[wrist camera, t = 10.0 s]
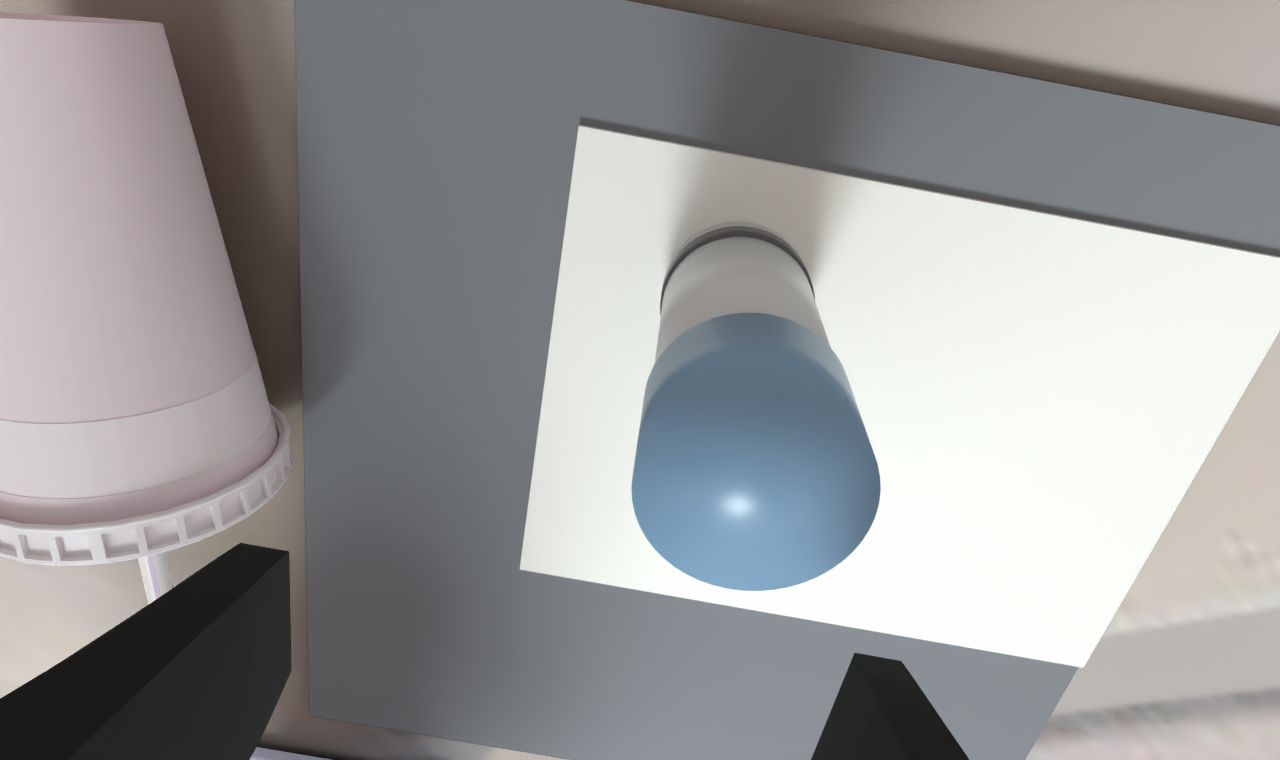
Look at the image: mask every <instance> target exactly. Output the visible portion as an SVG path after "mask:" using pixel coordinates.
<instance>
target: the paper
mask: <svg viewBox="0 0 1280 760" xmlns="http://www.w3.org/2000/svg"><path fill="white" fill-rule="evenodd" d="M729 222H746V223H753V224H757V225H761V226H763V227H766V228H768V229H770V230H772V231H774V232H776V233H778V234H779V235H780V236H782V237H783V238H784V239H785V240H786V241H787V242H788V243H789V244H790V245H791V246H792V247H793V248H794V249H795V251H796V252H797V254H798V255H799V256H800V258H801V259H802V261H803V262H804V264H805V266H806V268H807V271H808V274H809V276H810V279H811V282H812V285H813V289H814V294H815V302H816V305H817V308H818V311H819V314H820V317H821V320H822V323H823V326H824V329H825V332H826V335H827V338H828V341H829V344H830V347H831V349H832V350H833V351H834V353H835V354H836V355H837V357H838V358H839V360H840V362H841V364H842V365H843V367H844V370H845V372H846V375H847V378H848V380H849V383H850V386H851V389H852V392H853V395H854V398H855V400H856V403H857V406H858V409H859V412H860V415H861V418H862V420H863V423H864V426H865V429H866V432H867V435H868V438H869V440H870V443H871V446H872V449H873V452H874V455H875V458H876V460H877V463H878V468H879V473H880V485H881V492H880V500H879V506H878V509H877V513H876V516H875V519H874V521H873V523H872V525H871V527H870V530H869V531H868V533H867V534H866V536H865V537H864V539H863V540H862V542H861V543H860V544H859V545H858V547H857V548H856V549H855V550H854V551H853V552H852V553H851V554H850V555H849V556H848V557H847V558H846V559H845V560H843V561H842V562H841V563H840V564H838V565H837V566H835V567H834V568H832V569H831V570H829V571H828V572H826V573H824V574H822V575H820V576H818V577H816V578H814V579H812V580H809V581H807V582H804V583H801V584H798V585H794V586H791V587H787V588H781V589H775V590H765V591H742V590H734V589H727V588H723V587H718V586H714V585H711V584H708V583H705V582H702V581H699V580H697V579H695V578H693V577H691V576H689V575H687V574H685V573H683V572H682V571H680V570H679V569H677V568H675V567H674V566H673V565H671V564H670V563H669V562H668V561H666V560H665V559H664V558H663V557H662V556H661V555H660V554H659V553H658V552H657V551H656V550H655V549H654V548H653V547H652V545H651V544H650V542H649V541H648V540H647V538H646V537H645V535H644V533H643V532H642V530H641V528H640V526H639V524H638V521H637V518H636V515H635V513H634V508H633V502H632V489H631V486H632V477H633V469H634V462H635V456H636V449H637V442H638V435H639V428H640V421H641V414H642V407H643V400H644V394H645V388H646V384H647V381H648V377H649V375H650V373H651V370H652V368H653V366H654V364H655V356H656V349H657V341H658V334H659V326H660V318H661V316H660V300H661V293H662V286H663V282H664V278H665V275H666V273H667V270H668V268H669V266H670V264H671V262H672V260H673V258H674V256H675V255H676V253H677V252H678V251H679V249H680V248H681V247H682V246H683V245H684V244H685V243H686V242H687V241H688V240H689V239H690V238H692V237H693V236H694V235H696V234H697V233H699V232H701V231H703V230H704V229H707V228H709V227H712V226H715V225H718V224H722V223H729ZM1279 331H1280V257H1279V256H1274V255H1269V254H1263V253H1258V252H1253V251H1247V250H1242V249H1237V248H1231V247H1226V246H1221V245H1215V244H1210V243H1205V242H1200V241H1194V240H1189V239H1184V238H1178V237H1173V236H1168V235H1162V234H1157V233H1152V232H1147V231H1141V230H1136V229H1131V228H1125V227H1120V226H1115V225H1109V224H1104V223H1099V222H1093V221H1088V220H1083V219H1078V218H1072V217H1067V216H1062V215H1056V214H1051V213H1046V212H1040V211H1035V210H1030V209H1024V208H1019V207H1014V206H1009V205H1003V204H998V203H993V202H987V201H982V200H977V199H971V198H966V197H961V196H955V195H950V194H945V193H940V192H934V191H929V190H924V189H918V188H913V187H908V186H902V185H897V184H892V183H887V182H881V181H876V180H871V179H865V178H860V177H855V176H849V175H844V174H839V173H833V172H828V171H823V170H818V169H812V168H807V167H802V166H796V165H791V164H786V163H780V162H775V161H770V160H764V159H759V158H754V157H749V156H743V155H738V154H733V153H727V152H722V151H717V150H711V149H706V148H701V147H696V146H690V145H685V144H680V143H674V142H669V141H664V140H658V139H653V138H648V137H642V136H637V135H632V134H627V133H621V132H616V131H611V130H605V129H600V128H595V127H589V126H584V125H579V127H578V134H577V142H576V149H575V157H574V164H573V172H572V179H571V187H570V194H569V202H568V209H567V217H566V224H565V232H564V239H563V247H562V254H561V262H560V269H559V277H558V284H557V292H556V299H555V307H554V314H553V322H552V329H551V337H550V344H549V352H548V359H547V367H546V375H545V382H544V390H543V397H542V405H541V412H540V420H539V427H538V435H537V442H536V450H535V457H534V465H533V472H532V480H531V487H530V495H529V502H528V510H527V517H526V525H525V532H524V540H523V547H522V555H521V562H520V570H526V571H531V572H537V573H543V574H549V575H554V576H560V577H566V578H571V579H577V580H583V581H589V582H594V583H600V584H606V585H612V586H617V587H623V588H629V589H635V590H640V591H646V592H652V593H657V594H663V595H669V596H675V597H680V598H686V599H692V600H698V601H703V602H709V603H715V604H721V605H726V606H732V607H738V608H744V609H749V610H755V611H761V612H766V613H772V614H778V615H784V616H789V617H795V618H801V619H807V620H812V621H818V622H824V623H830V624H835V625H841V626H847V627H852V628H858V629H864V630H870V631H875V632H881V633H887V634H893V635H898V636H904V637H910V638H916V639H921V640H927V641H933V642H939V643H944V644H950V645H956V646H961V647H967V648H973V649H979V650H984V651H990V652H996V653H1002V654H1007V655H1013V656H1019V657H1025V658H1030V659H1036V660H1042V661H1047V662H1053V663H1059V664H1065V665H1070V666H1076V667H1082V668H1083V667H1084V666H1085V664H1086V662H1087V661H1088V659H1089V657H1090V655H1091V654H1092V652H1093V650H1094V649H1095V647H1096V645H1097V643H1098V642H1099V640H1100V638H1101V636H1102V635H1103V633H1104V631H1105V630H1106V628H1107V626H1108V624H1109V623H1110V621H1111V619H1112V618H1113V616H1114V614H1115V612H1116V611H1117V609H1118V607H1119V606H1120V604H1121V602H1122V600H1123V599H1124V597H1125V595H1126V594H1127V592H1128V590H1129V588H1130V587H1131V585H1132V583H1133V582H1134V580H1135V578H1136V576H1137V575H1138V573H1139V571H1140V570H1141V568H1142V566H1143V564H1144V563H1145V561H1146V559H1147V558H1148V556H1149V554H1150V552H1151V551H1152V549H1153V547H1154V546H1155V544H1156V542H1157V540H1158V539H1159V537H1160V535H1161V534H1162V532H1163V530H1164V528H1165V527H1166V525H1167V523H1168V522H1169V520H1170V518H1171V516H1172V515H1173V513H1174V511H1175V509H1176V508H1177V506H1178V504H1179V503H1180V501H1181V499H1182V497H1183V496H1184V494H1185V492H1186V491H1187V489H1188V487H1189V485H1190V484H1191V482H1192V480H1193V479H1194V477H1195V475H1196V473H1197V472H1198V470H1199V468H1200V467H1201V465H1202V463H1203V461H1204V460H1205V458H1206V456H1207V455H1208V453H1209V451H1210V449H1211V448H1212V446H1213V444H1214V443H1215V441H1216V439H1217V437H1218V436H1219V434H1220V432H1221V431H1222V429H1223V427H1224V425H1225V424H1226V422H1227V420H1228V419H1229V417H1230V415H1231V413H1232V412H1233V410H1234V408H1235V407H1236V405H1237V403H1238V401H1239V400H1240V398H1241V396H1242V394H1243V393H1244V391H1245V389H1246V388H1247V386H1248V384H1249V382H1250V381H1251V379H1252V377H1253V376H1254V374H1255V372H1256V370H1257V369H1258V367H1259V365H1260V364H1261V362H1262V360H1263V358H1264V357H1265V355H1266V353H1267V352H1268V350H1269V348H1270V346H1271V345H1272V343H1273V341H1274V340H1275V338H1276V336H1277V334H1278V333H1279Z"/></svg>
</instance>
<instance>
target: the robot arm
mask: <svg viewBox="0 0 1280 760" xmlns="http://www.w3.org/2000/svg"><path fill="white" fill-rule="evenodd" d="M290 673H291V626H290V573H289V552H288V551H283V550H277V549H271V548H266V547H260V546H255V545H249V544H243V543H240V544H238V545H237V546H235V547H233V548H232V549H230V550H229V551H227V552H226V553H224V554H223V555H221V556H220V557H218V558H217V559H215V560H214V561H212V562H211V563H209V564H208V565H206V566H205V567H203V568H202V569H200V570H199V571H197V572H196V573H194V574H193V575H191V576H190V577H188V578H187V579H185V580H184V581H183V582H181V583H180V584H178V585H177V586H175V587H174V588H172V589H171V590H169V591H168V592H166V593H165V594H163V595H162V596H160V597H159V598H158V599H156V600H155V601H153V602H152V603H150V604H149V605H147V606H146V607H144V608H143V609H141V610H140V611H138V612H137V613H135V614H134V615H132V616H131V617H129V618H128V619H126V620H125V621H123V622H122V623H120V624H119V625H117V626H115V627H114V628H112V629H111V630H109V631H108V632H106V633H105V634H103V635H102V636H100V637H99V638H97V639H96V640H94V641H92V642H91V643H89V644H88V645H86V646H85V647H83V648H82V649H80V650H79V651H77V652H76V653H74V654H73V655H71V656H69V657H68V658H66V659H65V660H63V661H62V662H60V663H58V664H57V665H55V666H54V667H52V668H50V669H49V670H47V671H46V672H44V673H42V674H41V675H39V676H37V677H36V678H34V679H32V680H31V681H29V682H27V683H26V684H24V685H22V686H21V687H19V688H17V689H16V690H14V691H12V692H11V693H9V694H7V695H6V696H4V697H2V698H1V699H0V760H332V759H326V758H320V757H314V756H308V755H302V754H296V753H290V752H284V751H278V750H272V749H266V748H260V747H257V745H258V743H259V741H260V739H261V736H262V734H263V732H264V730H265V728H266V726H267V724H268V722H269V719H270V717H271V715H272V713H273V711H274V709H275V706H276V704H277V702H278V700H279V697H280V695H281V693H282V691H283V688H284V686H285V684H286V682H287V679H288V677H289V675H290ZM811 760H969V758H968V757H967V755H966V754H965V752H964V751H963V749H962V748H961V747H960V745H959V744H958V742H957V741H956V739H955V738H954V736H953V735H952V734H951V732H950V731H949V729H948V728H947V726H946V725H945V723H944V722H943V720H942V719H941V718H940V716H939V715H938V713H937V712H936V710H935V709H934V707H933V706H932V704H931V703H930V701H929V700H928V698H927V697H926V696H925V694H924V693H923V691H922V690H921V688H920V687H919V685H918V684H917V682H916V681H915V679H914V678H913V677H912V675H911V674H910V672H909V671H908V669H907V668H906V667H905V665H904V664H903V662H902V661H899V660H893V659H888V658H882V657H877V656H871V655H865V654H860V653H854V655H853V658H852V660H851V662H850V665H849V667H848V670H847V672H846V675H845V677H844V680H843V682H842V685H841V687H840V690H839V692H838V694H837V697H836V699H835V702H834V704H833V707H832V709H831V712H830V714H829V717H828V719H827V721H826V724H825V726H824V729H823V731H822V734H821V736H820V739H819V741H818V744H817V746H816V748H815V751H814V753H813V756H812V758H811Z"/></svg>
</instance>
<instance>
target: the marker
mask: <svg viewBox="0 0 1280 760" xmlns="http://www.w3.org/2000/svg"><path fill="white" fill-rule="evenodd" d="M660 316H661V318H660V326H659V334H658V341H657V349H656V356H655V364H654V366H653V368H652V370H651V373H650V375H649V377H648V381H647V384H646V388H645V394H644V400H643V407H642V414H641V421H640V428H639V435H638V442H637V449H636V456H635V462H634V469H633V477H632V486H631V489H632V502H633V508H634V513H635V515H636V518H637V521H638V524H639V526H640V528H641V530H642V532H643V533H644V535H645V537H646V538H647V540H648V541H649V542H650V544H651V545H652V547H653V548H654V549H655V550H656V551H657V552H658V553H659V554H660V555H661V556H662V557H663V558H664V559H665V560H666V561H668V562H669V563H670V564H671V565H673V566H674V567H675V568H677V569H679V570H680V571H682V572H683V573H685V574H687V575H689V576H691V577H693V578H695V579H697V580H699V581H702V582H705V583H708V584H711V585H714V586H718V587H723V588H727V589H734V590H742V591H765V590H775V589H781V588H787V587H791V586H794V585H798V584H801V583H804V582H807V581H809V580H812V579H814V578H816V577H818V576H820V575H822V574H824V573H826V572H828V571H829V570H831V569H832V568H834V567H835V566H837V565H838V564H840V563H841V562H842V561H843V560H845V559H846V558H847V557H848V556H849V555H850V554H851V553H852V552H853V551H854V550H855V549H856V548H857V547H858V545H859V544H860V543H861V542H862V540H863V539H864V537H865V536H866V534H867V533H868V531H869V530H870V527H871V525H872V523H873V521H874V519H875V516H876V513H877V509H878V506H879V500H880V492H881V485H880V473H879V468H878V463H877V460H876V458H875V455H874V452H873V449H872V446H871V443H870V440H869V438H868V435H867V432H866V429H865V426H864V423H863V420H862V418H861V415H860V412H859V409H858V406H857V403H856V400H855V398H854V395H853V392H852V389H851V386H850V383H849V380H848V378H847V375H846V372H845V370H844V367H843V365H842V364H841V362H840V360H839V358H838V357H837V355H836V354H835V353H834V351H833V350H832V349H831V347H830V344H829V341H828V338H827V335H826V332H825V329H824V326H823V323H822V320H821V317H820V314H819V311H818V308H817V305H816V302H815V294H814V289H813V285H812V282H811V279H810V276H809V274H808V271H807V268H806V266H805V264H804V262H803V261H802V259H801V258H800V256H799V255H798V254H797V252H796V251H795V249H794V248H793V247H792V246H791V245H790V244H789V243H788V242H787V241H786V240H785V239H784V238H783V237H782V236H780V235H779V234H778V233H776V232H774V231H772V230H770V229H768V228H766V227H763V226H761V225H757V224H753V223H746V222H729V223H722V224H718V225H715V226H712V227H709V228H707V229H704V230H703V231H701V232H699V233H697V234H696V235H694V236H693V237H692V238H690V239H689V240H688V241H687V242H686V243H685V244H684V245H683V246H682V247H681V248H680V249H679V251H678V252H677V253H676V255H675V256H674V258H673V260H672V262H671V264H670V266H669V268H668V270H667V273H666V275H665V278H664V282H663V286H662V293H661V300H660Z"/></svg>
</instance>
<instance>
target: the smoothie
mask: <svg viewBox="0 0 1280 760" xmlns="http://www.w3.org/2000/svg"><path fill="white" fill-rule="evenodd" d="M290 433H291V428H290V426H289V424H288V422H287V419H286V417H285V415H284V414H283V413H282V412H280V411H279V410H278V409H277V408H275V407H274V406H273V405H271V404H270V403H269V402H268V398H267V394H266V390H265V387H264V383H263V379H262V375H261V371H260V367H259V363H258V359H257V356H256V352H255V349H254V347H253V343H252V340H251V336H250V333H249V329H248V326H247V322H246V319H245V315H244V311H243V308H242V304H241V301H240V297H239V294H238V290H237V286H236V283H235V279H234V276H233V272H232V269H231V265H230V262H229V258H228V254H227V251H226V247H225V244H224V240H223V237H222V233H221V229H220V226H219V222H218V219H217V215H216V212H215V208H214V205H213V201H212V197H211V194H210V190H209V187H208V183H207V180H206V176H205V172H204V169H203V165H202V162H201V158H200V155H199V151H198V148H197V144H196V140H195V137H194V133H193V130H192V126H191V123H190V119H189V115H188V112H187V108H186V105H185V101H184V98H183V94H182V90H181V87H180V83H179V80H178V76H177V73H176V69H175V66H174V62H173V58H172V55H171V51H170V48H169V44H168V41H167V37H166V33H165V30H164V26H163V24H162V23H156V22H147V21H136V20H123V19H110V18H95V17H80V16H63V15H45V14H27V13H7V12H0V556H1V557H4V558H7V559H11V560H15V561H19V562H23V563H31V564H41V565H51V566H77V565H96V564H104V563H112V562H121V561H127V560H132V559H137V558H138V561H139V566H140V570H141V575H142V579H143V584H144V588H145V593H146V597H147V602H148V605H149V604H150V603H152V602H153V601H155V600H156V599H158V598H159V597H160V596H162V595H163V594H165V593H166V592H168V591H169V590H171V589H172V588H173V585H172V580H171V575H170V570H169V565H168V560H167V555H166V552H167V551H170V550H173V549H176V548H180V547H183V546H186V545H189V544H193V543H195V542H198V541H200V540H202V539H205V538H207V537H210V536H212V535H214V534H217V533H219V532H222V531H224V530H226V529H227V528H229V527H231V526H233V525H235V524H237V523H238V522H240V521H242V520H244V519H246V518H247V517H249V516H250V515H252V514H253V513H254V512H256V511H257V510H258V509H260V508H261V507H262V506H264V505H265V504H266V503H268V502H269V501H270V500H271V499H272V498H273V497H274V496H275V495H276V494H277V493H278V491H279V490H280V489H281V488H282V487H283V485H284V483H285V482H286V480H287V478H288V476H289V474H290V470H291V455H290V448H289V438H290Z"/></svg>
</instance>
